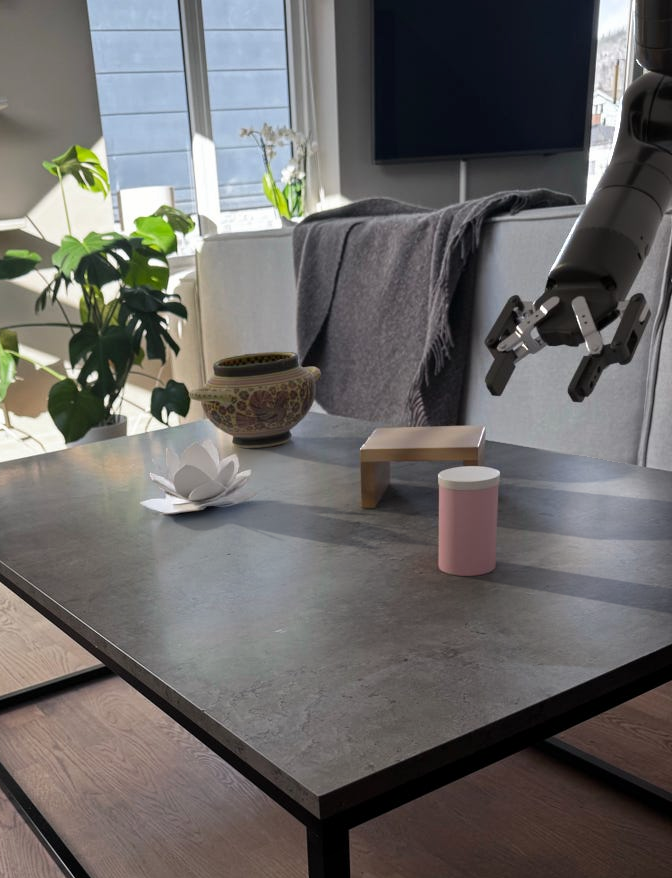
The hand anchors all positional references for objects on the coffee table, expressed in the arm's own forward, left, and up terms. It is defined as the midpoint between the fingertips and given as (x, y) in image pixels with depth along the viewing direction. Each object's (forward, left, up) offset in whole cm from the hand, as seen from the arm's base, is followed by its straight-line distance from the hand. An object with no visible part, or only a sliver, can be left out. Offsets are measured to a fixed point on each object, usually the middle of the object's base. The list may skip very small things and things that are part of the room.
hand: (531, 394), depth 87 cm
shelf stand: (+12, -15, -14) cm, 24 cm away
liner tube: (+5, +9, -14) cm, 17 cm away
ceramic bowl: (+41, -45, -15) cm, 63 cm away
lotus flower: (+39, -10, -14) cm, 43 cm away
